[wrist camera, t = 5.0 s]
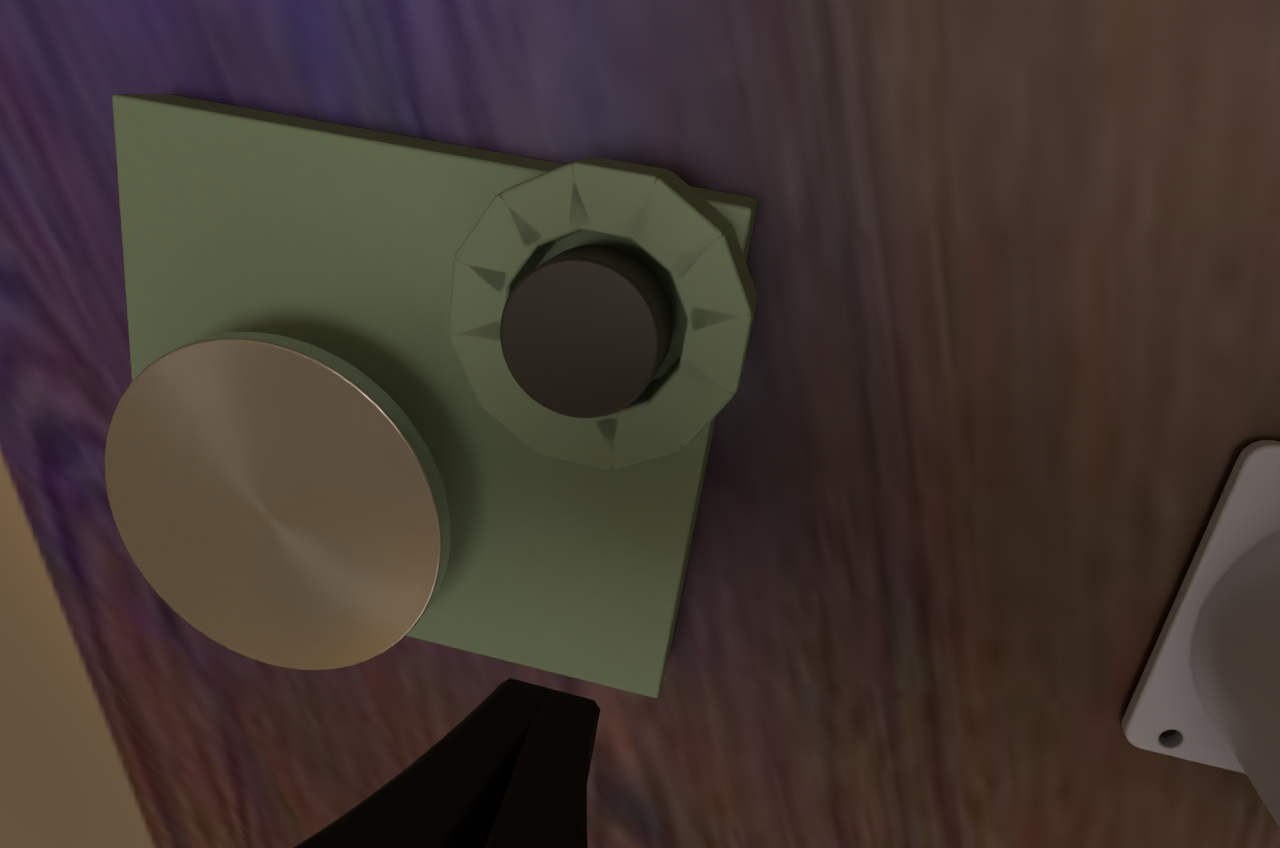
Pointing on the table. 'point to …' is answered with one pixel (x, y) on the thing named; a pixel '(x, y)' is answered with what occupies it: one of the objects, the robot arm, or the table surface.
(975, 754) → the table surface
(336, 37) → the table surface
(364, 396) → the brushed metal disc
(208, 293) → the scale
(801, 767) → the table surface
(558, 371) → the tare button
